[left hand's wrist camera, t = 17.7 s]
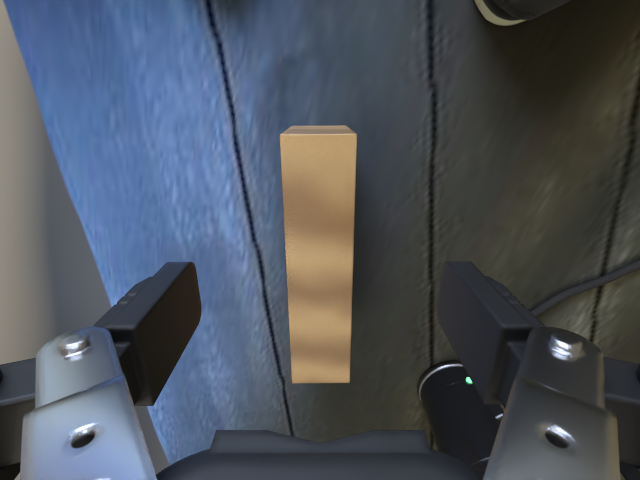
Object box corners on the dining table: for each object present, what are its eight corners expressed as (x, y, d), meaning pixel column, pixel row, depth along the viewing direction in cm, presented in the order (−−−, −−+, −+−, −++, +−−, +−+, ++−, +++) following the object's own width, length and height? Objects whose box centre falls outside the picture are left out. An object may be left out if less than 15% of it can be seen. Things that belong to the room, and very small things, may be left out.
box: (291, 125, 37) (279, 134, 26) (345, 125, 37) (356, 133, 26) (298, 317, 46) (292, 383, 35) (342, 317, 46) (349, 382, 35)
